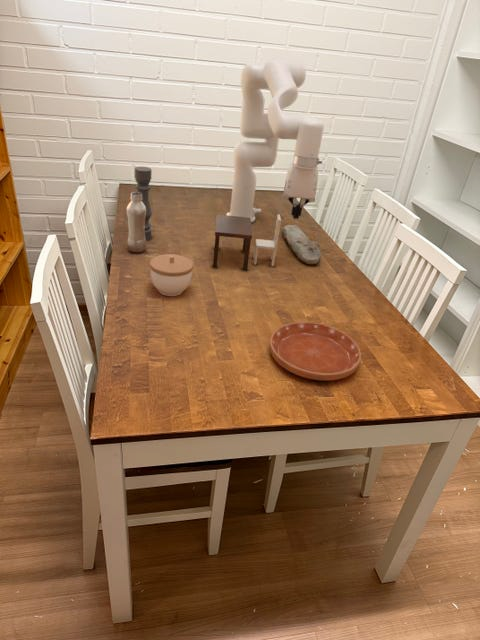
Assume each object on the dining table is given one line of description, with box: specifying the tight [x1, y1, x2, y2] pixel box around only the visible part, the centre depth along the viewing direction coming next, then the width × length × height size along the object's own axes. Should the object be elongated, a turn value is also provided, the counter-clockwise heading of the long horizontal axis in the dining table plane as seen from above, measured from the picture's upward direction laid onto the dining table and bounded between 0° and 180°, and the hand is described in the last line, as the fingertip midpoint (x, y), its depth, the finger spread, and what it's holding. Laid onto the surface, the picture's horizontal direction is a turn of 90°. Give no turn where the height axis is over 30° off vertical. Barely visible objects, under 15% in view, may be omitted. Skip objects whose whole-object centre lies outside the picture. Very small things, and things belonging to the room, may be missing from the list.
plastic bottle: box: [126, 191, 147, 253], centre depth 159 cm, size 6×7×20 cm
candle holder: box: [134, 166, 152, 242], centre depth 168 cm, size 6×6×25 cm
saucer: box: [269, 321, 362, 381], centre depth 120 cm, size 23×23×4 cm
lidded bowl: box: [149, 253, 194, 297], centre depth 140 cm, size 13×13×11 cm
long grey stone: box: [282, 224, 322, 265], centre depth 182 cm, size 35×5×10 cm
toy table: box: [212, 213, 253, 272], centre depth 164 cm, size 12×17×13 cm
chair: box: [252, 213, 282, 267], centre depth 163 cm, size 7×6×17 cm
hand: (295, 217), depth 159 cm, fingers closed
